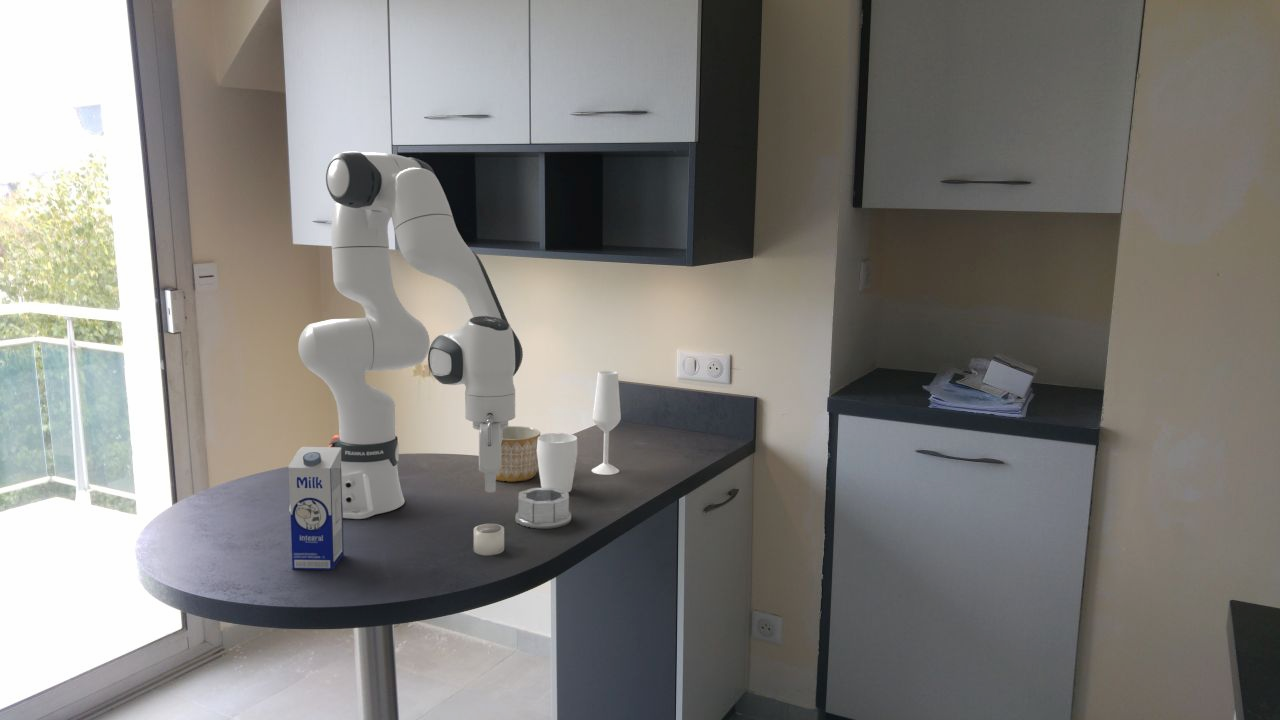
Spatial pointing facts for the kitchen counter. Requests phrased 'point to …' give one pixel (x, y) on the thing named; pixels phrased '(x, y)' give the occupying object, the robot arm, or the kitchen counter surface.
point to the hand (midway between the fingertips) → (490, 483)
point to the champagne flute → (606, 413)
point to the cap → (488, 539)
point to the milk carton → (316, 508)
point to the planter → (518, 454)
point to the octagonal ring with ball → (543, 508)
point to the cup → (557, 460)
